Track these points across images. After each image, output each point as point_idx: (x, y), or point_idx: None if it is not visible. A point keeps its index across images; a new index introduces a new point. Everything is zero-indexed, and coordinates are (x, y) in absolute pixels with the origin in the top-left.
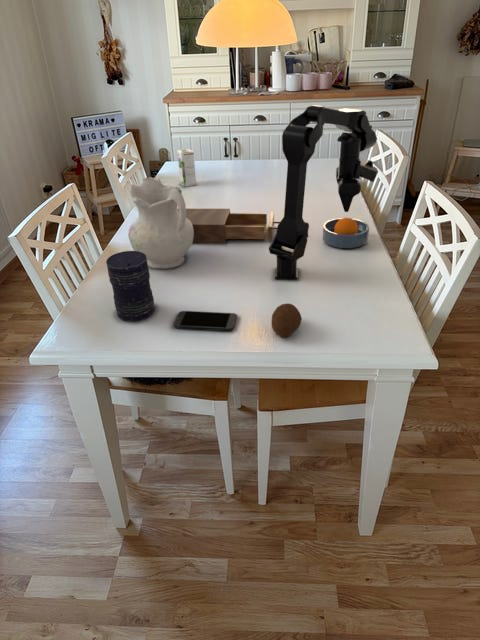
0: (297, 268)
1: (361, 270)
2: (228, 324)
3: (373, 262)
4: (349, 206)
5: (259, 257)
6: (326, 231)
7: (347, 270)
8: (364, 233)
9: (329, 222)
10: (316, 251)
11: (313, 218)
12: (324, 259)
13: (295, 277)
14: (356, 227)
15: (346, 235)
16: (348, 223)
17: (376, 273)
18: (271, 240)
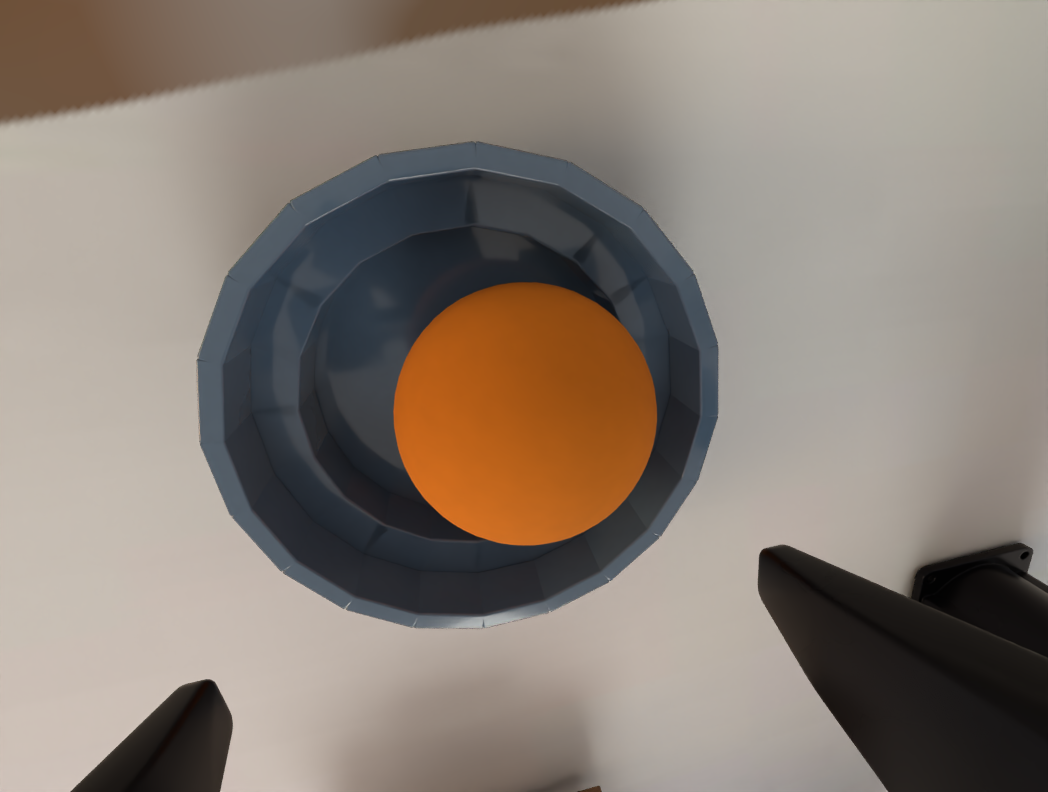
0: (931, 574)
1: (974, 194)
2: None
3: (862, 95)
4: (916, 609)
5: (766, 754)
6: (613, 570)
7: (959, 295)
8: (627, 200)
9: (377, 593)
10: (682, 530)
11: (34, 691)
12: (797, 461)
13: (1017, 557)
14: (586, 313)
15: (717, 391)
16: (633, 428)
17: (1036, 69)
18: (600, 789)
